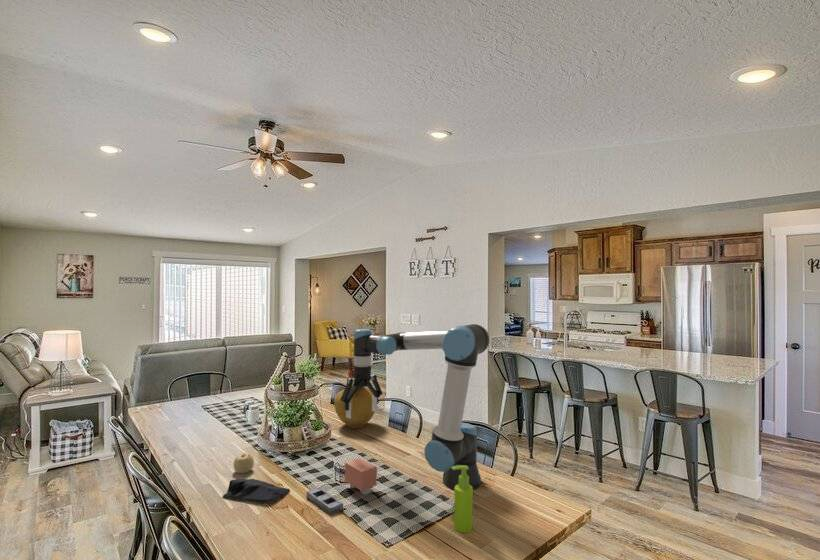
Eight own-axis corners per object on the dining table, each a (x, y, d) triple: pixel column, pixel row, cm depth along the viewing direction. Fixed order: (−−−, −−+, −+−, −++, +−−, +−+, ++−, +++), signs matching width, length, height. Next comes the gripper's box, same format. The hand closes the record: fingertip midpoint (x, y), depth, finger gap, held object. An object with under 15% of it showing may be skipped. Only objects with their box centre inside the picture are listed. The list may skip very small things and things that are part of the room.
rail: (343, 509, 151) (343, 503, 151) (330, 514, 148) (330, 508, 148) (318, 492, 163) (318, 487, 163) (306, 497, 160) (306, 491, 160)
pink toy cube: (376, 491, 165) (376, 466, 165) (361, 497, 160) (361, 471, 160) (359, 481, 173) (359, 457, 173) (344, 487, 168) (344, 462, 168)
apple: (257, 466, 185) (257, 454, 181) (244, 481, 178) (244, 469, 175) (243, 458, 187) (242, 446, 183) (229, 472, 180) (228, 460, 177)
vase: (375, 433, 228) (375, 376, 228) (329, 432, 228) (330, 375, 228) (378, 419, 251) (379, 367, 252) (337, 418, 252) (338, 367, 252)
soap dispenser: (449, 523, 144) (450, 462, 144) (470, 522, 144) (470, 462, 145) (452, 533, 138) (453, 470, 138) (474, 532, 139) (474, 469, 139)
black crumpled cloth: (266, 510, 151) (266, 497, 151) (218, 498, 159) (218, 485, 159) (293, 491, 165) (294, 478, 165) (248, 480, 173) (248, 468, 173)
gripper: (380, 360, 198) (379, 407, 197) (332, 367, 181) (332, 418, 181) (390, 363, 192) (389, 411, 192) (342, 370, 175) (341, 422, 175)
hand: (361, 414), depth 186 cm, fingers open, 13 cm apart
